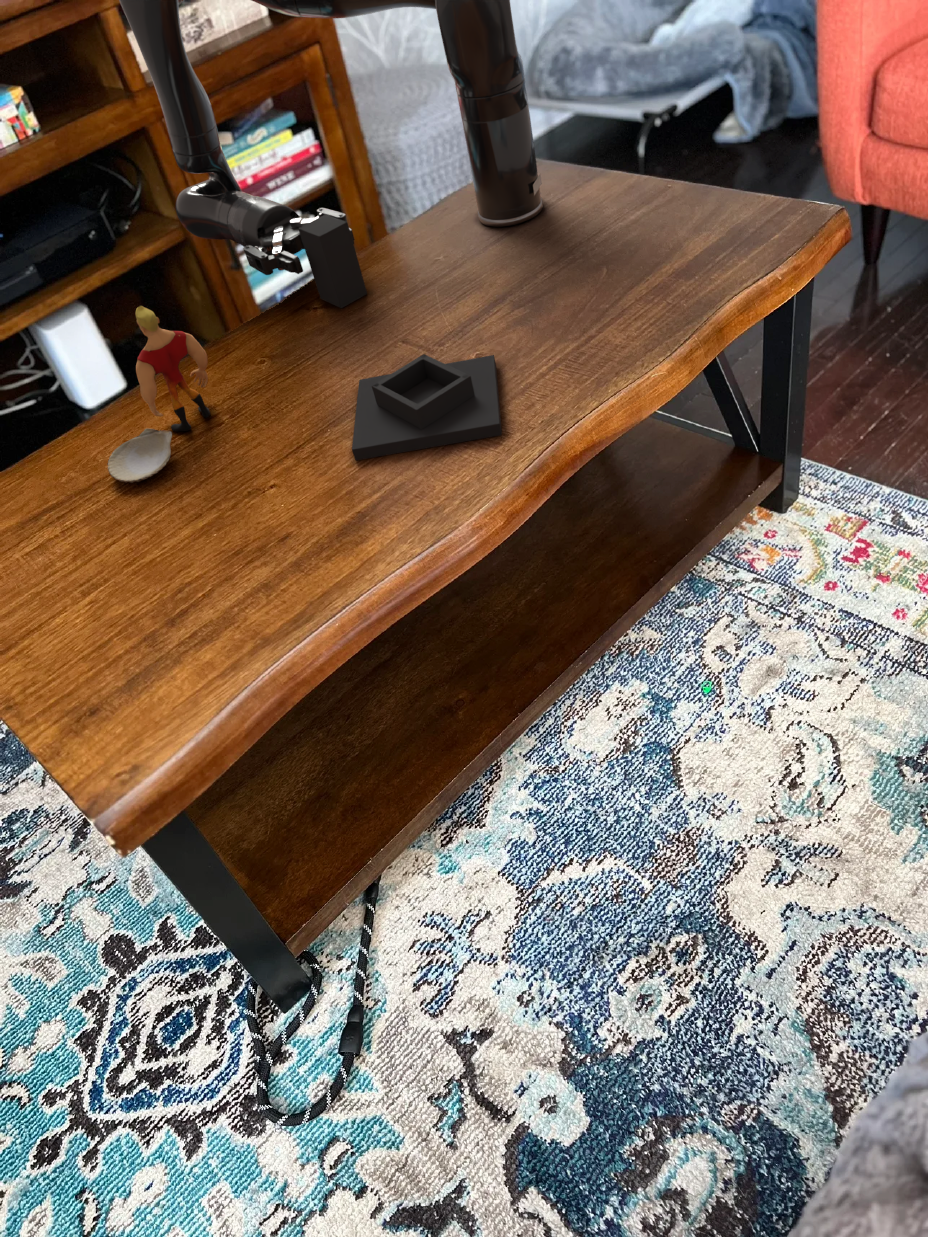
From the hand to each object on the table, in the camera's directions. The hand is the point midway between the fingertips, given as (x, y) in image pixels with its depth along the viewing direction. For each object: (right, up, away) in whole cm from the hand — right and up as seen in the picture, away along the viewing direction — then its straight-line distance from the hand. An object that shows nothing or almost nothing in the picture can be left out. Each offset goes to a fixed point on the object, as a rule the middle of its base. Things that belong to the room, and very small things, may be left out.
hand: (325, 251), depth 128 cm
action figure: (-14, -25, -12) cm, 31 cm away
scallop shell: (-18, -32, -17) cm, 40 cm away
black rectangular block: (+2, -5, +3) cm, 6 cm away
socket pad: (+15, -26, -21) cm, 36 cm away
